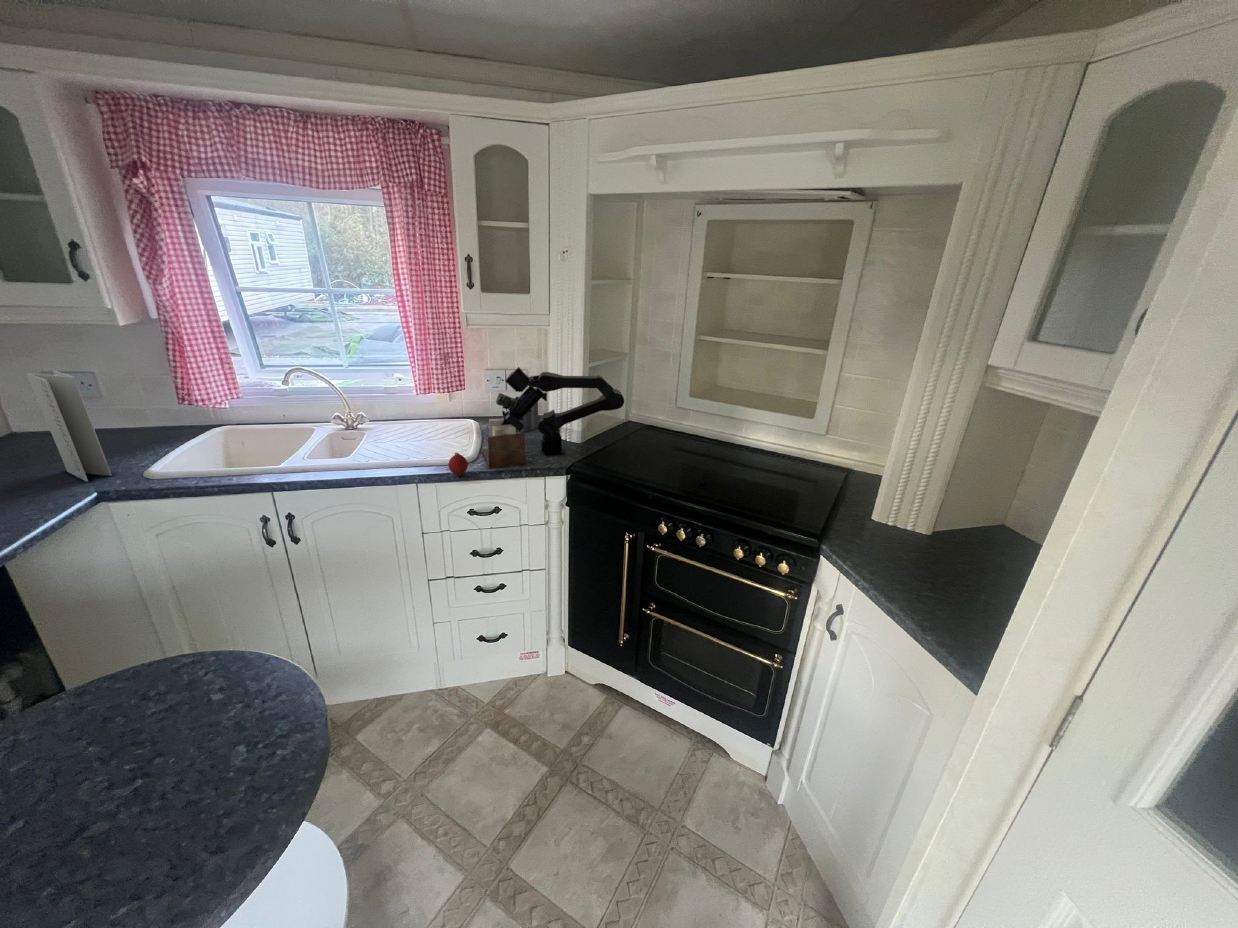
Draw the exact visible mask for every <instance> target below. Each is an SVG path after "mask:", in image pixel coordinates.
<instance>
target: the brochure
mask: <svg viewBox="0 0 1238 928" xmlns="http://www.w3.org/2000/svg"><path fill="white" fill-rule="evenodd" d="M52 373H53V374H44V373H43V374H41V373H30V372H29V373H28V372H27V373H26V377H27V379H28V381H29V383H30V386H31V389H32V391H33V393H34V395H35V397H36V398H35V399H36V400H37V402H38V405H39V407H40V409H41V412H42V414H43V417H44V420H45V422H46V425H47V427H48V429H49V432H50V434H51V436H52V438H53V441H54V443H55V445H56V448H57V451H58V453H59V456H60V457H61V460H62V462H63V465H64V468H65V470H66V472H67V473H69V474H71V475H73V476H75V477H76V478H79V479H80V480H82V481H84V482H86V483H89V479H88V477H87V475H97V476H106V477H107V476H108V477H112V476H113V474H112V471H111V469H110V466H109V463H108V461H107V458H106V456H105V454H104V451H103V448H102V446H101V443H100V440H99V438H98V434H97V433H96V429H95V427H94V424H93V422H92V420H91V416H90V414H89V411H88V409H87V406H86V404H85V400H84V398H83V396H82V393H81V390H80V387H79V384H78V381H77V380H76V378H75V377H76V376H73V375H70V374H66V373H64V372H62V371H61V372H60V371H58V370H52Z"/></svg>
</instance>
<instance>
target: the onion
mask: <svg viewBox="0 0 1238 928" xmlns="http://www.w3.org/2000/svg"><path fill="white" fill-rule="evenodd" d="M468 467H469V462H468V460H467V459H466V457H465V456H464V455H462V454H460V453H459V452H457V451H456V452H454V455H453V456H451V457H450V459H449V461H448V469H449V470H450V472H451V473H453V474H454V475H456V476H457V477H461V476H462V475H463V474H464V473H466V471H467V470H468Z"/></svg>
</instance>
